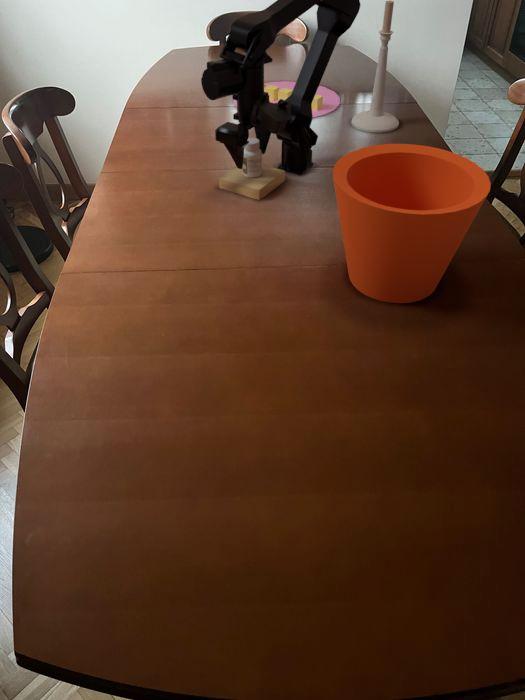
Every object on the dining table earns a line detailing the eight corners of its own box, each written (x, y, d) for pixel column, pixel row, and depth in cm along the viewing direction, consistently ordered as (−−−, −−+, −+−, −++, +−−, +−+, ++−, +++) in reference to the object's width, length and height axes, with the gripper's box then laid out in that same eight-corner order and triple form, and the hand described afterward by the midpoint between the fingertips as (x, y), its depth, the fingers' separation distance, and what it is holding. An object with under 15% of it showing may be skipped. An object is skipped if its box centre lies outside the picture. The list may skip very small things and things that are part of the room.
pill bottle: (242, 170, 136) (241, 137, 131) (261, 169, 136) (260, 136, 131) (243, 178, 133) (242, 145, 127) (262, 177, 133) (262, 144, 128)
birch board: (218, 188, 135) (218, 177, 133) (245, 169, 142) (245, 159, 140) (259, 200, 130) (259, 189, 129) (284, 180, 137) (285, 170, 136)
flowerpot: (321, 239, 118) (328, 143, 105) (447, 241, 117) (470, 144, 104) (328, 318, 100) (337, 213, 86) (477, 320, 99) (510, 215, 86)
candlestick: (403, 118, 165) (422, -4, 144) (391, 135, 156) (409, 7, 136) (359, 112, 169) (372, -9, 148) (345, 128, 160) (356, 2, 140)
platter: (307, 128, 160) (307, 116, 157) (211, 106, 173) (211, 94, 170) (358, 93, 180) (359, 81, 177) (269, 75, 192) (269, 64, 190)
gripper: (258, 110, 113) (259, 186, 123) (306, 82, 124) (303, 153, 135) (211, 99, 117) (215, 173, 128) (261, 73, 129) (262, 143, 139)
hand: (251, 160), depth 132 cm, fingers open, 9 cm apart
